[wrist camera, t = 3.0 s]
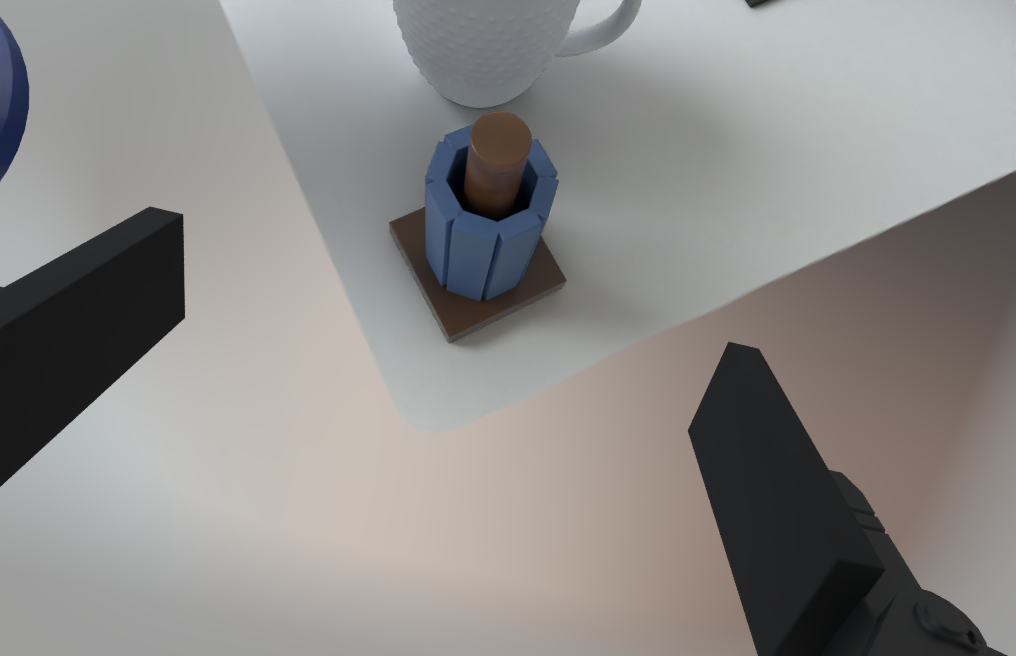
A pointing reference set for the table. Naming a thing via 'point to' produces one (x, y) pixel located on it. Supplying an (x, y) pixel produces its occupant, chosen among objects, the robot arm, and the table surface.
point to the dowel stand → (491, 195)
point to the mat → (755, 2)
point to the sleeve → (482, 223)
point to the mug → (497, 42)
